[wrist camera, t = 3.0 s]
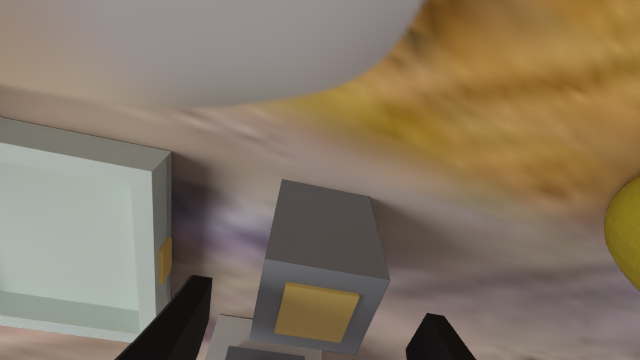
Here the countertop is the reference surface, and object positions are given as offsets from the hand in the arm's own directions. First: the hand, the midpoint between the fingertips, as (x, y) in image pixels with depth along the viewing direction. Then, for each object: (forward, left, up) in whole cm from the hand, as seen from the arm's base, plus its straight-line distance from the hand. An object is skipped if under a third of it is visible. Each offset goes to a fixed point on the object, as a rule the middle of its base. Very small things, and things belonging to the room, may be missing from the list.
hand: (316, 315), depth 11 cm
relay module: (0, 0, -5) cm, 5 cm away
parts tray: (-3, +12, -5) cm, 13 cm away
